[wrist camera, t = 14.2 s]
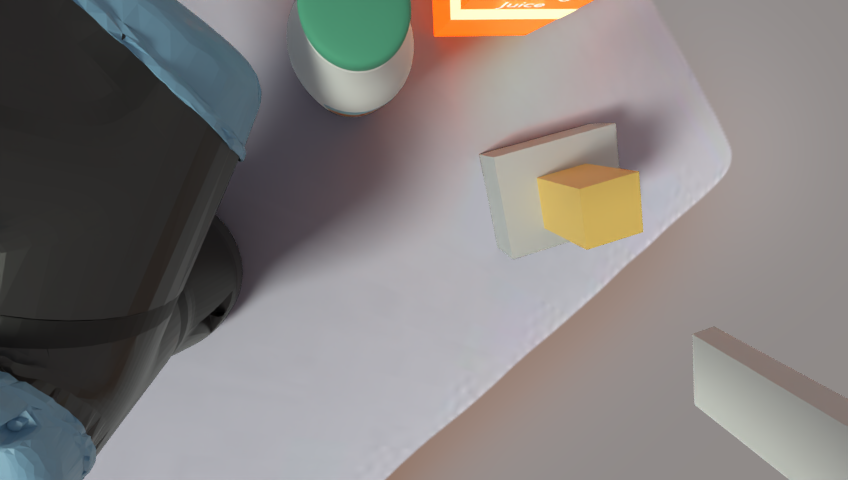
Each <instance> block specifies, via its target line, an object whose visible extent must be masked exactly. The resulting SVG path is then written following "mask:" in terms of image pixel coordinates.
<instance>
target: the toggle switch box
mask: <svg viewBox="0 0 848 480" xmlns="http://www.w3.org/2000/svg"><path fill="white" fill-rule="evenodd" d="M479 156H480V161H481V166H482V171H483V176H484V181H485V186H486V191H487V196H488V201H489V206H490V211H491V216H492V221H493V226H494V231H495V237H496V242H497V247H498V248H499V249H500V250H502V251H503V252H504V253H505V254H507V255H508V256H509V257H510V258H512V259H516V258H519V257H522V256H525V255H529V254H532V253H535V252H538V251H541V250H545V249H548V248H551V247H554V246H557V245H561V244H564V243H567V242H570V241H568V240H567V239H565V238H563V237H561V236H559V235H557V234H555V233H553V232H551V231H549V230H547V229H545V228H544V222H543V216H542V209H541V203H540V196H539V190H538V184H537V178H538V177H541V176H544V175H548V174H551V173H555V172H558V171H562V170H565V169H569V168H572V167H575V166H579V165H582V164H593V165H600V166H606V167H613V168H619V158H618V146H617V135H616V123H601V124H587V125H583V126H580V127H576V128H573V129H569V130H565V131H562V132H558V133H555V134H551V135H547V136H544V137H540V138H537V139H533V140H529V141H526V142H522V143H519V144H515V145H512V146H508V147H504V148H501V149H497V150H494V151H490V152H486V153H483V154H479Z"/></svg>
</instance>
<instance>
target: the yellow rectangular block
mask: <svg viewBox="0 0 848 480" xmlns="http://www.w3.org/2000/svg"><path fill="white" fill-rule="evenodd" d="M537 184H538V190H539V196H540V203H541V209H542V216H543V222H544V228H545V229H547V230H549V231H551V232H553V233H555V234H557V235H559V236H561V237H563V238H565V239H567V240H568V241H570V242H572V243H574V244H576V245H578V246H580V247H582V248H584V249H586V250H588V249H591V248H594V247H597V246H600V245H604V244H607V243H610V242H613V241H616V240H619V239H622V238H626V237H629V236H632V235H635V234H638V233H641V232H643V223H642V209H641V194H640V180H639V171H633V170H626V169H619V168H613V167H606V166H600V165H593V164H582V165H579V166H575V167H572V168H569V169H565V170H562V171H558V172H555V173H551V174H548V175H544V176H541V177H538V178H537Z"/></svg>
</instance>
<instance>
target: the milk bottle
mask: <svg viewBox="0 0 848 480" xmlns="http://www.w3.org/2000/svg"><path fill="white" fill-rule="evenodd" d="M410 20H411V2H410V0H295V2H294V4H293V6H292V9H291V11H290V14H289V18H288V23H287V48H288V54H289V58H290V61H291V64H292V67H293V69H294V71H295V73H296V75H297V77H298V78H299V80H300V82H301V83H302V85H303V86H304V88H305V89H306V90H307V91H308V93H309V94H310V95H311V96H312V97H313V98H314V99H315V100H316V101H317V102H318V103H319V104H321V105H322V106H323V107H324V108H326V109H327V110H329V111H331V112H333V113H335V114H337V115H340V116H345V117H360V116H365V115H368V114H370V113H372V112H374V111H376V110H378V109H379V108H381V107H382V106H384V105H385V104H387V103H388V102H389V101H390V100H392V99H393V98H394V97H395V95H396V94H397V93H398V92H399V91H400V89H401V88H402V87H403V85H404V84H405V82H406V80H407V78H408V75H409V73H410V70H411V66H412V61H413V55H414V37H413V31H412V27H411V23H410Z"/></svg>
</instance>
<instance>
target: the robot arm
mask: <svg viewBox="0 0 848 480" xmlns="http://www.w3.org/2000/svg"><path fill="white" fill-rule="evenodd" d="M260 103H261V88H260V84H259V81H258V77H257V75H256V73H255V72H254V70H253V69H252V67H251V65H250V64H249V62H248V61H247V60H246V59H245V58H244V57H243V56H242V55H241V54H240V53H239V51H238V50H236V49H235V48H234V47H233V46H232V45H231V44H230V43H229V42H228V41H227V40H225V39H224V38H223V37H222V36H221V35H219V34H218V33H217V32H216V31H215V30H214V29H212V28H211V27H210V26H209V25H207V24H206V23H205V22H204V21H203V20H201V19H200V18H199V17H198V16H196V15H195V14H194V13H192V12H191V11H190V10H189V9H187V8H186V7H185V6H183V5H182V4H181V3H180V2H178V1H177V0H0V480H83V479H84V477H85V476H86V475H87V474H88V473H89V472H90V470H91V469H92V467H93V465H94V463H95V461H96V456H97V455H98V453H99V452H100V451H101V449H102V448H103V447H104V445H105V444H106V443H107V441H108V440H109V439H110V437H111V436H112V435H113V433H114V432H115V431H116V429H117V428H118V427H119V425H120V424H121V423H122V421H123V420H124V419H125V417H126V416H127V415H128V413H129V412H130V411H131V409H132V408H133V407H134V405H135V404H136V403H137V401H138V400H139V399H140V397H141V396H142V395H143V393H144V392H145V391H146V389H147V388H148V387H149V385H150V384H151V383H152V381H153V380H154V379H155V377H156V376H157V375H158V373H159V372H160V371H161V369H162V368H163V367H164V365H165V364H166V363H167V361H168V360H169V359H170V357H171V356H173V355H175V354H177V353H179V352H181V351H183V350H185V349H186V348H188V347H190V346H192V345H194V344H196V343H198V342H200V341H201V340H203V339H204V338H206V337H207V336H208V335H210V334H211V333H212V332H213V331H214V330H215V329H216V328H217V327H218V326H219V325H220V324H221V323H222V322H223V321H224V319H225V318H226V316H227V315H228V313H229V312H230V310H231V308H232V307H233V305H234V303H235V302H236V300H237V297H238V295H239V292H240V288H241V283H242V262H241V257H240V253H239V250H238V247H237V245H236V243H235V240H234V238H233V237H232V235H231V233H230V232H229V230H228V229H227V228H226V226H225V225H224V224H223V223H222V221H221V220H220V219H219V218H218V217H217V216H216V215H215V213H216V211H217V209H218V206H219V204H220V202H221V199H222V197H223V195H224V192H225V190H226V188H227V185H228V183H229V181H230V178H231V176H232V174H233V171H234V169H235V167H236V164H237V162H238V161H240V162H242V161H244V159H245V156H246V150H245V148H244V147H245V144H246V141H247V139H248V136H249V133H250V131H251V128H252V125H253V123H254V120H255V117H256V115H257V112H258V109H259V106H260ZM692 340H693V341H692V342H693V374H694V404H695V405H696V406H697V407H698V408H700V409H701V410H702V411H703V412H705V413H706V414H707V415H708V416H710V417H711V418H712V419H713V420H715V421H716V422H717V423H718V424H720V425H721V426H722V427H724V428H725V429H726V430H727V431H729V432H730V433H731V434H732V435H734V436H735V437H736V438H738V439H739V440H740V441H741V442H742V443H744V444H745V445H746V446H747V447H749V448H750V449H751V450H753V451H754V452H755V453H756V454H758V455H759V456H760V457H761V458H763V459H764V460H765V461H766V462H768V463H769V464H770V465H771V466H773V467H774V468H775V469H777V470H778V471H779V472H780V473H782V474H783V475H784V476H785V477H787V478H788V479H789V480H848V399H847V398H845V397H843V396H842V395H840V394H838V393H836V392H834V391H832V390H830V389H829V388H827V387H825V386H823V385H821V384H819V383H817V382H816V381H814V380H812V379H810V378H808V377H806V376H805V375H803V374H801V373H799V372H797V371H795V370H793V369H792V368H790V367H788V366H786V365H784V364H782V363H780V362H778V361H777V360H775V359H773V358H771V357H769V356H768V355H766V354H764V353H762V352H760V351H758V350H756V349H755V348H753V347H751V346H749V345H747V344H745V343H743V342H742V341H740V340H738V339H736V338H734V337H732V336H731V335H729V334H727V333H725V332H723V331H721V330H719V329H718V328H716V327H711V328H708V329H706V330H703V331H700V332H697V333H694V334H692Z"/></svg>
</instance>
